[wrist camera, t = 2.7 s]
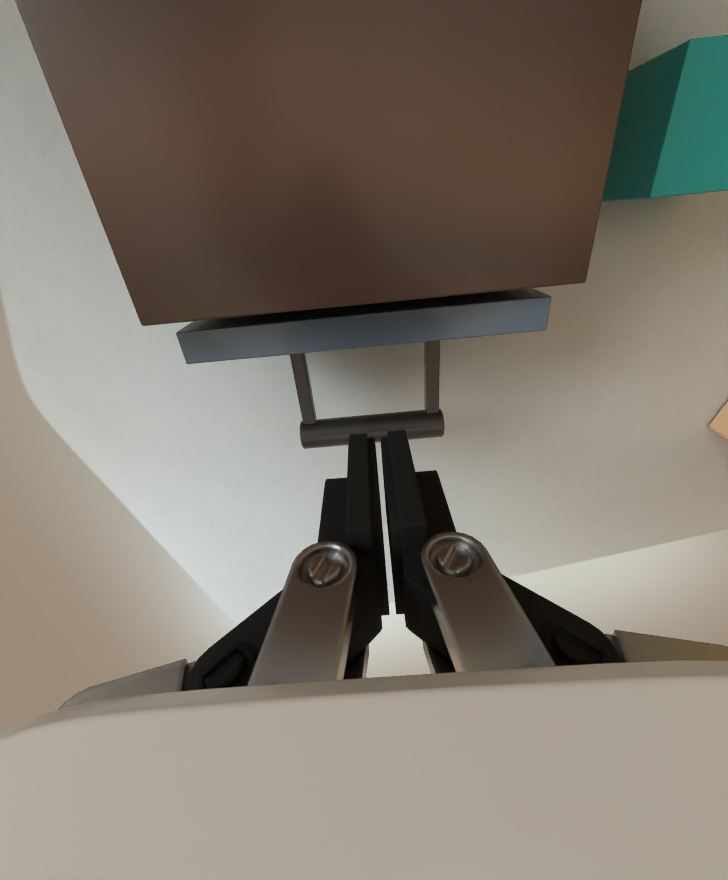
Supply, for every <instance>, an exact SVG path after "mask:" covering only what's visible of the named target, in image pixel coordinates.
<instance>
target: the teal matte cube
mask: <svg viewBox="0 0 728 880" xmlns="http://www.w3.org/2000/svg"><path fill="white" fill-rule="evenodd" d="M725 190H728V35H723V36H714V37H706V38H697V39H690V40H688V41H686V42H684V43H682V44H681V45H679V46H677V47H675V48H673V49H671V50H669V51H667V52H665V53H663V54H661V55H659V56H657V57H655V58H654V59H652V60H650V61H648V62H646V63H644V64H642V65H640V66H638V67H636V68H634V69H632V70H630V71H628V72H627V77H626V82H625V87H624V92H623V97H622V102H621V107H620V112H619V117H618V122H617V127H616V132H615V137H614V142H613V147H612V152H611V157H610V162H609V167H608V172H607V177H606V182H605V187H604V192H603V197H602V201H607V200H626V199H645V198H657V197H667V196H676V195H686V194H696V193H705V192H715V191H725Z"/></svg>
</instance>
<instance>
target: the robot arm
mask: <svg viewBox="0 0 728 880" xmlns="http://www.w3.org/2000/svg"><path fill="white" fill-rule="evenodd" d="M380 438H381V451H382V464H383V477H384V490H385V502H386V514H387V525H388V535H389V545H390V555H391V565H392V575H393V585H394V596H395V606H396V614H405V621H406V627H408V629H409V630H410V631H411V632H413V633H414V634H415V635H416V636H418V637H419V638H420V639H422V641H423V648H424V652H425V655H426V658H427V662H428V664H429V668H430V671H431V674H422V675H406V676H392V677H376V678H366V673H367V665H368V657H369V643H370V642H371V641H372V640H373V639H374V637H376V635H377V634H378V633H379V632H380V631H381V629H382V619H381V615H389V603H388V590H387V578H386V566H385V554H384V541H383V529H382V517H381V505H380V493H379V482H378V470H377V459H376V447H375V437H370V438H368V436H367V433H360V434H349V446H348V472H347V478H337V479H326V481H325V487H324V496H323V504H322V512H321V520H320V529H319V537H318V543H316V544H313V545H311V546H309V547H307V548H306V549H304V550H303V551H302V552H301V553H300V554H299V555H298V556H297V557H296V559H295V560H294V562H293V564H292V566H291V569H290V572H289V575H288V577H287V580H286V583H285V585H284V588H283V590H282V591H280V592H279V593H278V594H277V595H275V596H274V597H273V598H272V599H270V600H269V601H268V602H266V603H265V604H264V605H263V606H261V607H260V608H259V609H258V610H256V611H255V612H254V613H253V614H251V615H250V616H249V617H248V618H246V619H245V620H244V621H243V622H241V623H240V624H239V625H238V626H236V627H235V628H234V629H233V630H231V631H230V632H229V633H228V634H226V635H225V636H224V637H222V638H221V639H220V640H219V641H217V642H216V643H215V644H214V645H213V646H211V647H210V648H209V649H208V650H207V651H206V652H205V653H204V654H203V655H202V656H200V657H199V659H198V660H197V661H195V662H192V663H188V662H187V660H186V659H183V660H180V661H176V662H173V663H170V664H166V665H163V666H160V667H156V668H153V669H150V670H146V671H143V672H139V673H136V674H132V675H129V676H125V677H122V678H119V679H115V680H112V681H109V682H105V683H101V684H98V685H95V686H91V687H89V688H87V689H85V690H83V691H80V692H78V693H77V694H75V695H74V696H73V697H71V698H70V699H69V700H67V701H66V702H65V703H64V704H63V705H62V706H61V707H60V708H59V709H58V710H56V711H53V712H50V713H47V714H43V715H40V716H37V717H34V718H32V719H29V720H26V721H23V722H21V723H19V724H17V725H14V726H12V727H10V728H7V729H5V730H3V731H1V732H0V880H728V647H726V646H723V645H717V644H710V643H703V642H696V641H689V640H682V639H675V638H668V637H661V636H654V635H647V634H639V633H633V632H625V631H619V630H615V631H614V633H613V635H609V634H603V633H602V632H601V631H600V630H599V629H597V628H596V627H594V626H593V625H592V624H590V623H589V622H587V621H585V620H583V619H581V618H580V617H578V616H576V615H574V614H572V613H571V612H569V611H567V610H565V609H563V608H562V607H560V606H558V605H556V604H554V603H553V602H551V601H549V600H547V599H545V598H544V597H542V596H540V595H538V594H536V593H534V592H533V591H531V590H529V589H527V588H525V587H523V586H522V585H520V584H518V583H516V582H515V581H513V580H511V579H509V578H507V577H506V576H504V575H502V574H501V573H500V571H499V569H498V568H497V566H496V564H495V563H494V561H493V559H492V558H491V556H490V554H489V553H488V551H487V549H486V548H485V547H484V546H483V545H482V543H481V542H479V541H478V540H476V539H475V538H473V537H472V536H469V535H466V534H464V533H458V532H456V530H455V527H454V523H453V520H452V517H451V514H450V511H449V508H448V504H447V501H446V498H445V495H444V492H443V489H442V485H441V482H440V479H439V476H438V473H437V471H436V470H435V471H422V472H415V469H414V465H413V460H412V456H411V451H410V447H409V443H408V438H407V434H406V430H396V431H387V436H382V437H380Z"/></svg>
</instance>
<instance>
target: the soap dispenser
mask: <svg viewBox="0 0 728 880" xmlns="http://www.w3.org/2000/svg"><path fill="white" fill-rule="evenodd" d="M708 427H709V429H710V430H712V431H714V432H715V433H717V434H719V435H720V436H722V437H724V438H725V439H727V440H728V401H727V402H726V404H725V405H724V406H723V408H722V409H721V410H720V411H719V413H718V414H717V415H716V417H715V418H714V419H713V421H712V422H711V423H710V425H709V426H708Z"/></svg>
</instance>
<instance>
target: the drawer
mask: <svg viewBox="0 0 728 880" xmlns="http://www.w3.org/2000/svg"><path fill="white" fill-rule="evenodd" d="M550 302H551V296H549V295H547V294H544V293H542V292H540V291H537V290H535V289H532V288H526V289H516V290H506V291H496V292H485V293H475V294H465V295H455V296H444V297H434V298H424V299H414V300H403V301H393V302H383V303H373V304H363V305H352V306H342V307H332V308H322V309H311V310H301V311H291V312H281V313H270V314H260V315H250V316H240V317H229V318H219V319H209V320H199V321H193V322H192V323H190V324H189V325H187V326H186V327H184V328H183V329H181V330H180V331H178V332H177V333H176V334H177V337H178V340H179V343H180V346H181V349H182V352H183V355H184V357H185V360H186V363H187V364H193V363H204V362H214V361H225V360H235V359H246V358H256V357H267V356H278V355H288V354H290V358H291V363H292V368H293V373H294V378H295V383H296V389H297V394H298V399H299V404H300V409H301V414H302V419H303V421H301V424H300V438H301V443H302V446H303V448H305V449H307V448H318V447H329V446H341V445H349V434H360V433H367V436H368V438H370V437H375V442H381V438H380V437H382V436H387V431H396V430H406V434H407V438H408V440H409V439H420V438H432V437H442V436H443V434H444V418H443V413H442V411H441V409H439V366H440V340H446V339H457V338H468V337H478V336H489V335H499V334H510V333H520V332H531V331H541V330H546V327H547V321H548V315H549V309H550ZM415 342H424V363H425V410H419V411H408V412H396V413H385V414H374V415H363V416H352V417H341V418H330V419H319V420H316V413H315V408H314V402H313V396H312V390H311V385H310V379H309V373H308V367H307V362H306V356H305V353H309V352H320V351H330V350H341V349H351V348H362V347H373V346H383V345H394V344H404V343H415Z"/></svg>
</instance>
